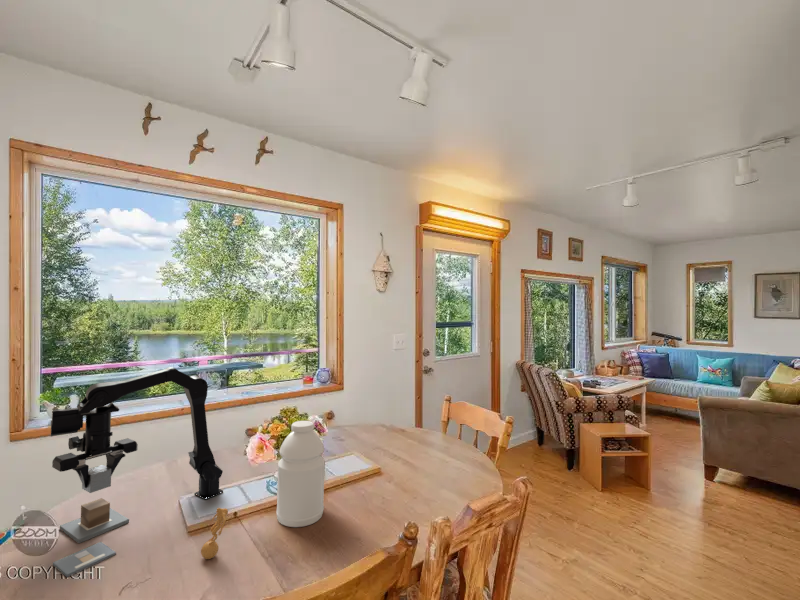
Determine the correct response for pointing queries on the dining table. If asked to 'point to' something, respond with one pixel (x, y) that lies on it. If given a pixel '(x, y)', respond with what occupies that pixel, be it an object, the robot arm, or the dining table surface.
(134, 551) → the dining table surface
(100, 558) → the board
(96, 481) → the metal cube
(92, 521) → the walnut cube
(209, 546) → the figurine
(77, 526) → the base plate
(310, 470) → the bottle
